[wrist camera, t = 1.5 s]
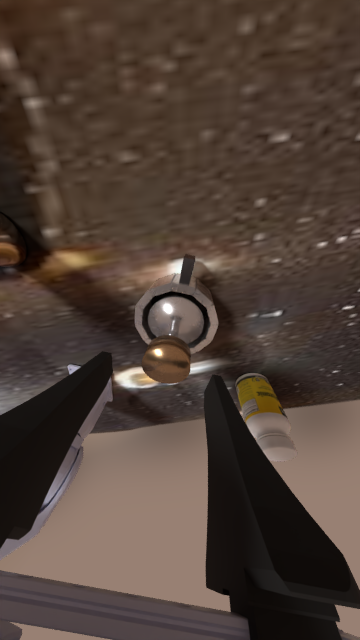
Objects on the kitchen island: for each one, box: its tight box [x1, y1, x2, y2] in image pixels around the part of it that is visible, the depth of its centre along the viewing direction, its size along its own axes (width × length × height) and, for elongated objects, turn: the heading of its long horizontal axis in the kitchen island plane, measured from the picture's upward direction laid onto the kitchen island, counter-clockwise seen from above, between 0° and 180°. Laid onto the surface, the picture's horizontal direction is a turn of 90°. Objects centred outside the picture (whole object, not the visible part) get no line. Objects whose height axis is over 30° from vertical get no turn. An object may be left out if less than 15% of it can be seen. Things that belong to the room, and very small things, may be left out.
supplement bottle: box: [235, 373, 298, 462], centre depth 21 cm, size 5×5×10 cm
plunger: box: [142, 295, 204, 384], centre depth 13 cm, size 6×6×7 cm
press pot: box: [135, 254, 218, 354], centre depth 17 cm, size 11×9×4 cm
